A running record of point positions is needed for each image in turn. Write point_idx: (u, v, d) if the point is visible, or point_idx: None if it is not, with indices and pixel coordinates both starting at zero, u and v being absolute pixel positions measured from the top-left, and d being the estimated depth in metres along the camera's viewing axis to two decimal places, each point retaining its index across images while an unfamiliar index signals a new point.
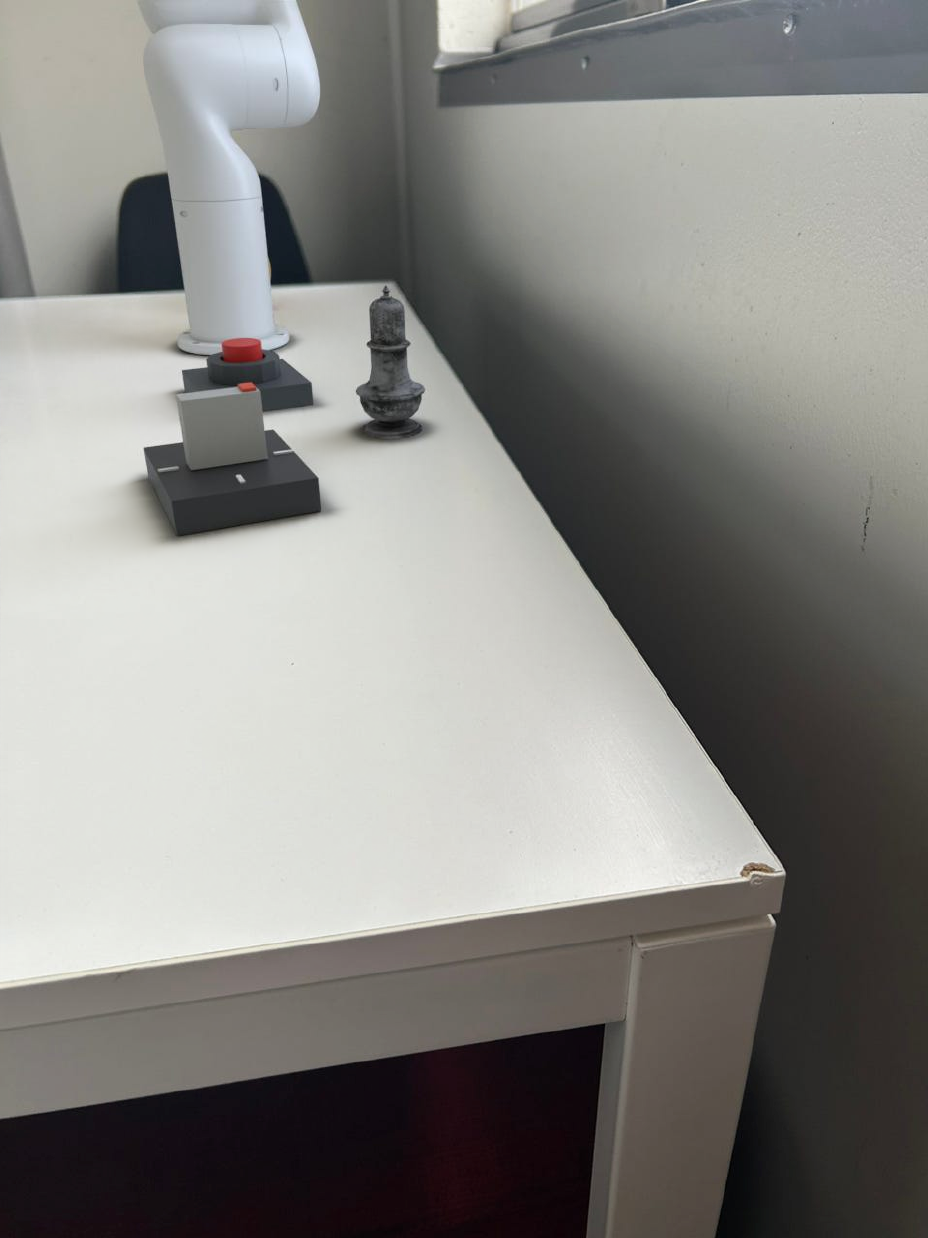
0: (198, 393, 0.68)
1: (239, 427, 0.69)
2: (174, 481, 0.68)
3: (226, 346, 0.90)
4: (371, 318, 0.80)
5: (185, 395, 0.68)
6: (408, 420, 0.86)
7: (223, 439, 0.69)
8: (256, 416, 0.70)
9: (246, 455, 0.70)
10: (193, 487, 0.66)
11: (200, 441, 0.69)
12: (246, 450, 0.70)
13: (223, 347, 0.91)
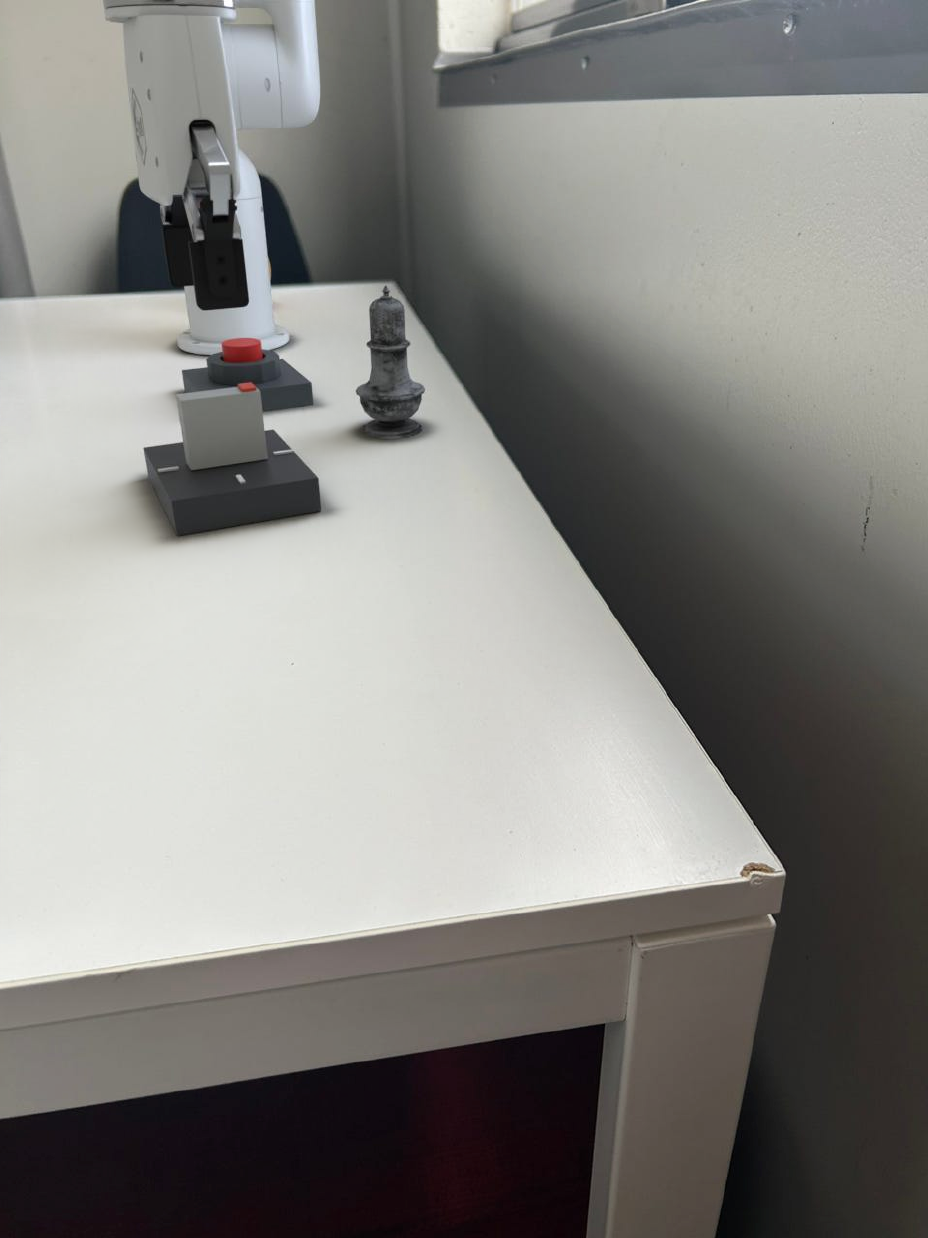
0: (198, 393, 0.68)
1: (239, 427, 0.69)
2: (174, 481, 0.68)
3: (226, 346, 0.90)
4: (371, 318, 0.80)
5: (185, 395, 0.68)
6: (408, 420, 0.86)
7: (223, 439, 0.69)
8: (256, 416, 0.70)
9: (246, 455, 0.70)
10: (193, 487, 0.66)
11: (200, 441, 0.69)
12: (246, 450, 0.70)
13: (223, 347, 0.91)
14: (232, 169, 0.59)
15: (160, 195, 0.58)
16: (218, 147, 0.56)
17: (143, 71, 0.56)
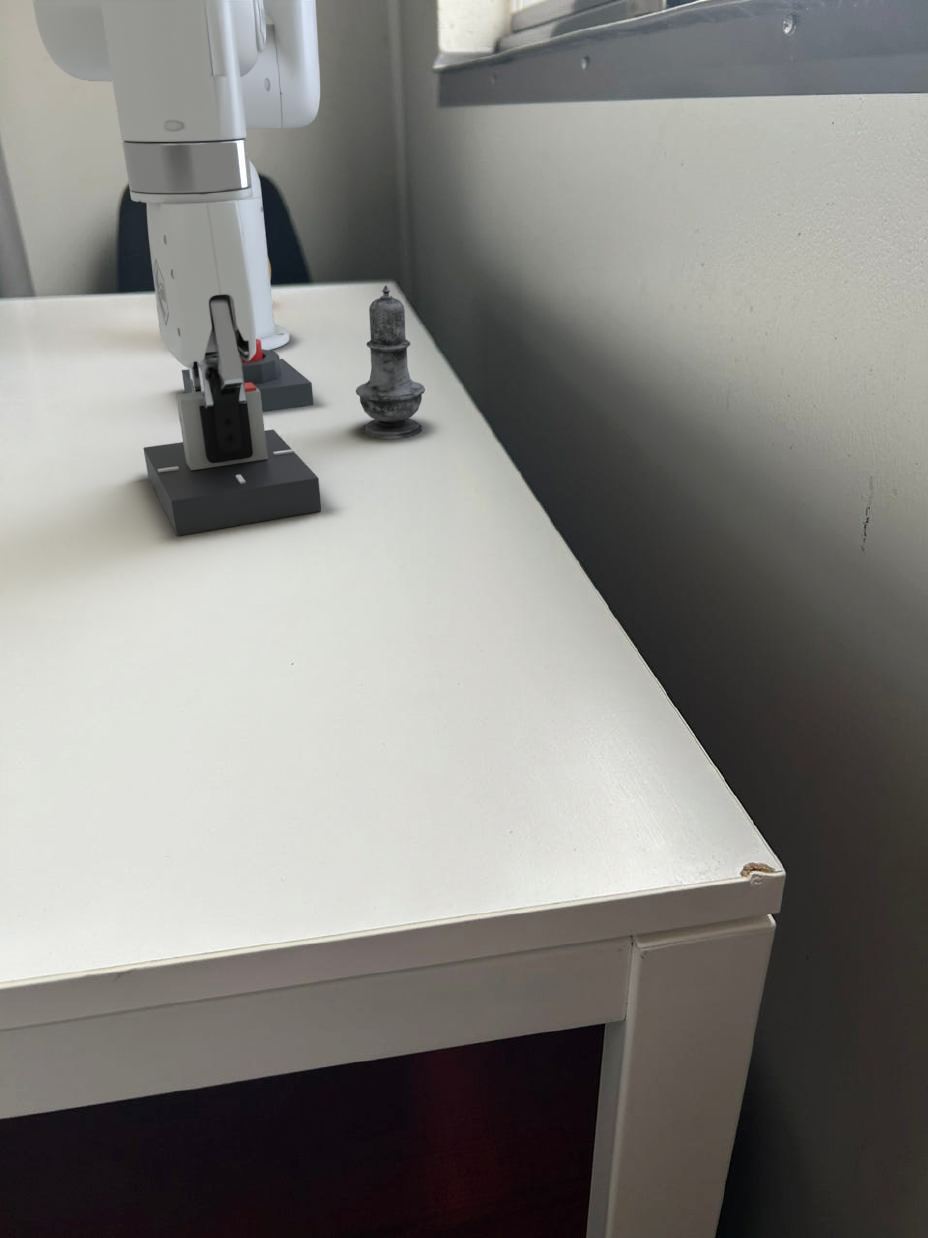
0: (198, 393, 0.68)
1: None
2: (174, 481, 0.68)
3: None
4: (371, 318, 0.80)
5: (185, 395, 0.68)
6: (408, 420, 0.86)
7: None
8: (256, 416, 0.70)
9: None
10: (193, 487, 0.66)
11: (200, 441, 0.69)
12: None
13: None
14: (249, 336, 0.63)
15: (182, 360, 0.63)
16: (234, 351, 0.62)
17: (167, 252, 0.60)
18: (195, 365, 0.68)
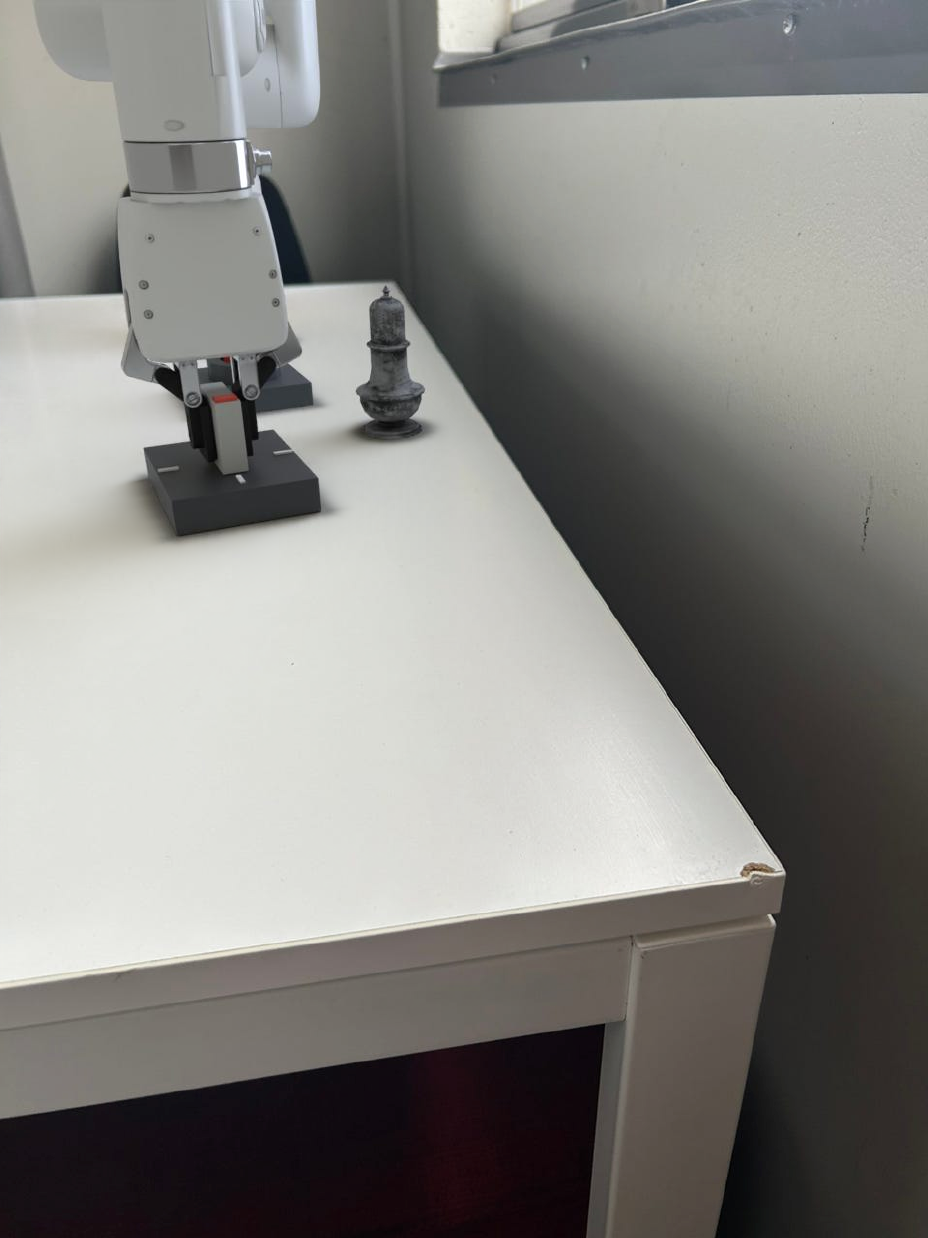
0: (219, 387, 0.70)
1: None
2: (174, 481, 0.68)
3: None
4: (371, 318, 0.80)
5: (213, 384, 0.70)
6: (408, 420, 0.86)
7: None
8: (216, 428, 0.67)
9: (217, 461, 0.69)
10: (193, 487, 0.66)
11: None
12: None
13: None
14: (136, 335, 0.63)
15: None
16: (128, 344, 0.64)
17: None
18: (231, 362, 0.69)
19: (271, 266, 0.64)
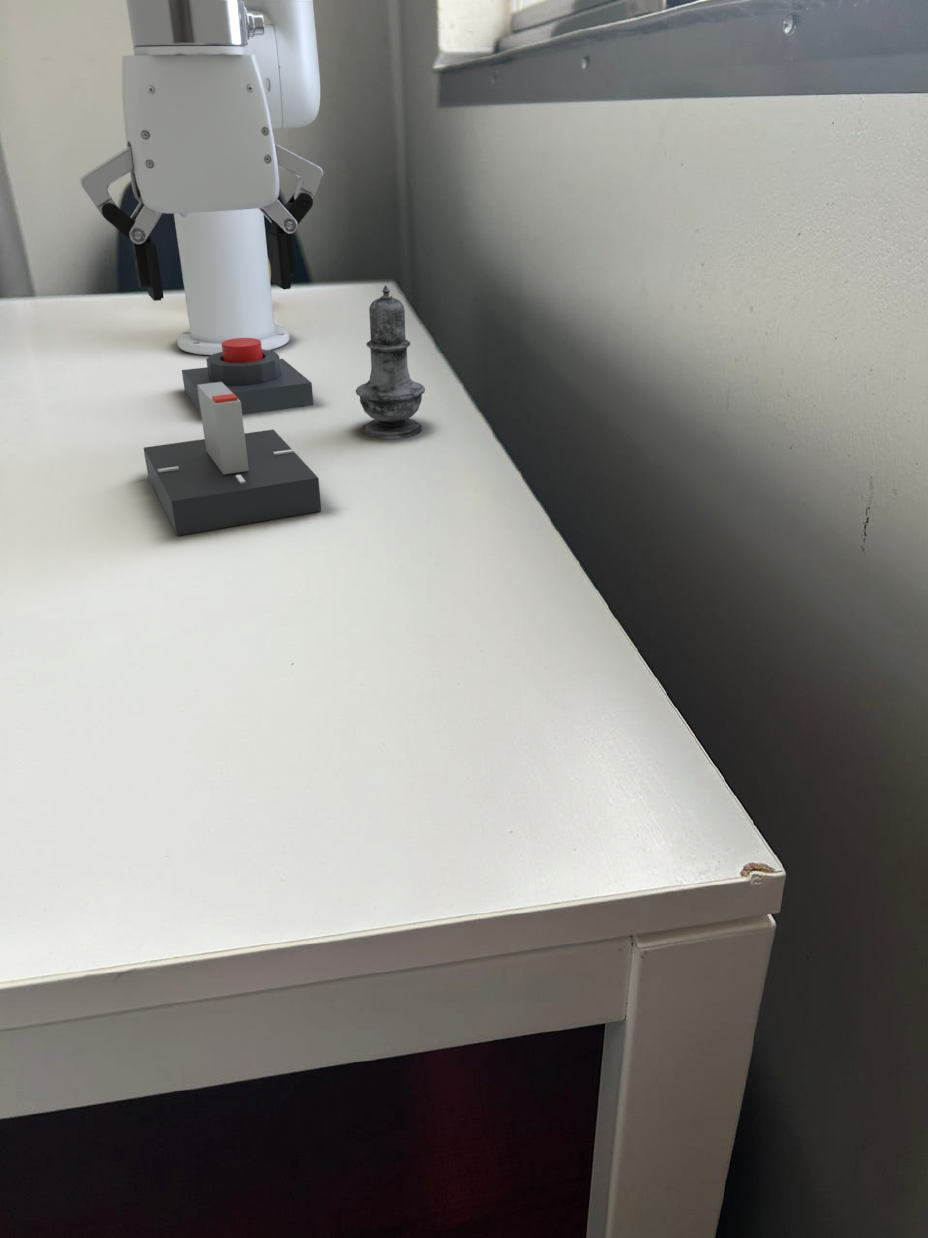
0: (219, 387, 0.70)
1: (213, 431, 0.69)
2: (174, 481, 0.68)
3: (226, 346, 0.90)
4: (371, 318, 0.80)
5: (213, 384, 0.70)
6: (408, 420, 0.86)
7: (210, 436, 0.70)
8: (216, 428, 0.67)
9: (217, 461, 0.69)
10: (193, 487, 0.66)
11: (205, 428, 0.71)
12: (217, 457, 0.69)
13: (223, 347, 0.91)
14: (138, 185, 0.69)
15: None
16: (102, 165, 0.68)
17: None
18: (261, 211, 0.75)
19: (263, 123, 0.70)
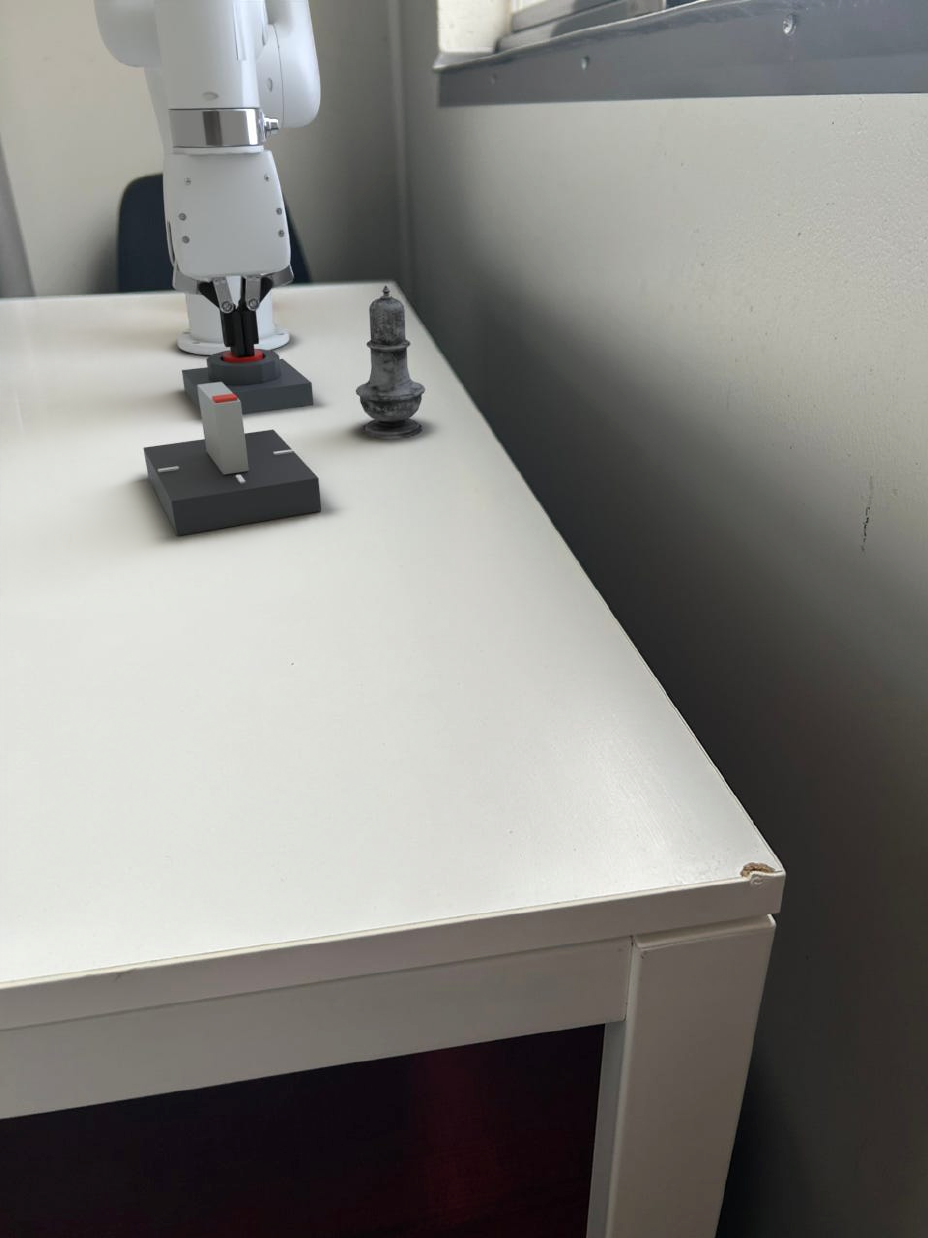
0: (219, 387, 0.70)
1: (213, 431, 0.69)
2: (174, 481, 0.68)
3: (227, 357, 0.91)
4: (371, 318, 0.80)
5: (213, 384, 0.70)
6: (408, 420, 0.86)
7: (210, 436, 0.70)
8: (216, 428, 0.67)
9: (217, 461, 0.69)
10: (193, 487, 0.66)
11: (205, 428, 0.71)
12: (217, 457, 0.69)
13: (224, 358, 0.91)
14: (176, 256, 0.84)
15: None
16: (176, 266, 0.86)
17: None
18: (240, 281, 0.90)
19: (277, 205, 0.85)
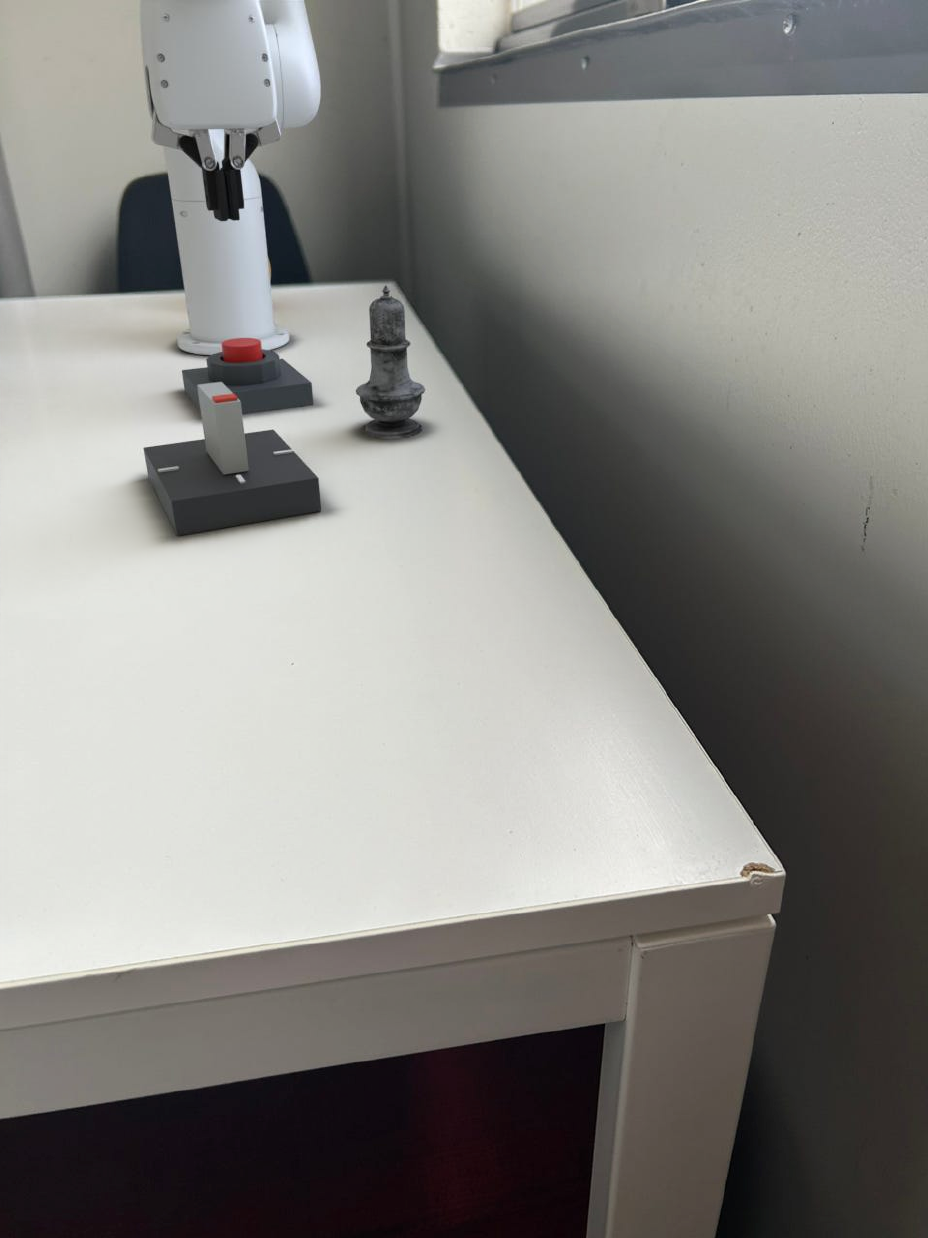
0: (219, 387, 0.70)
1: (213, 431, 0.69)
2: (174, 481, 0.68)
3: (226, 346, 0.90)
4: (371, 318, 0.80)
5: (213, 384, 0.70)
6: (408, 420, 0.86)
7: (210, 436, 0.70)
8: (216, 428, 0.67)
9: (217, 461, 0.69)
10: (193, 487, 0.66)
11: (205, 428, 0.71)
12: (217, 457, 0.69)
13: (223, 347, 0.91)
14: (154, 103, 0.79)
15: None
16: (154, 116, 0.80)
17: None
18: (224, 139, 0.84)
19: (263, 50, 0.80)
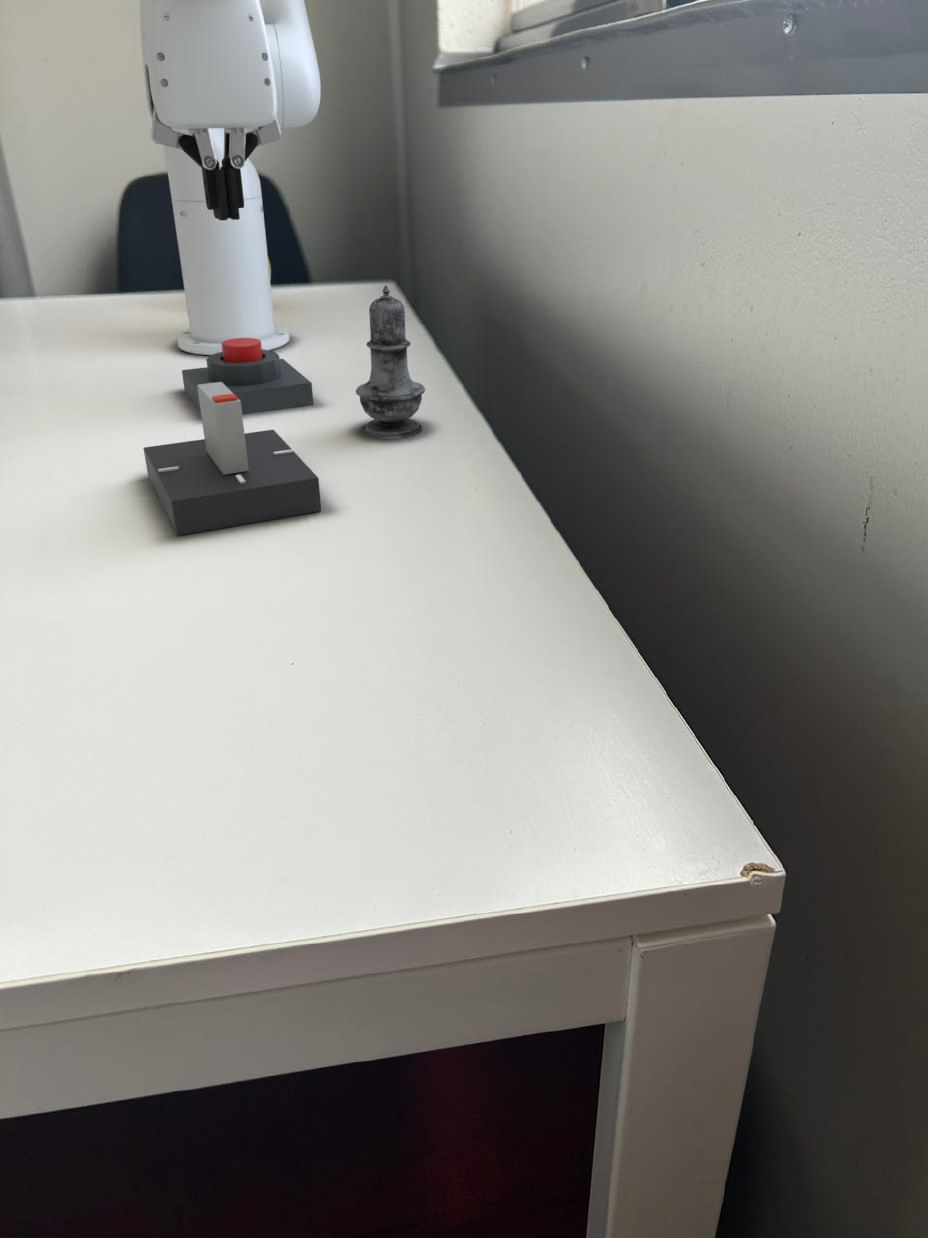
0: (219, 387, 0.70)
1: (213, 431, 0.69)
2: (174, 481, 0.68)
3: (226, 346, 0.90)
4: (371, 318, 0.80)
5: (213, 384, 0.70)
6: (408, 420, 0.86)
7: (210, 436, 0.70)
8: (216, 428, 0.67)
9: (217, 461, 0.69)
10: (193, 487, 0.66)
11: (205, 428, 0.71)
12: (217, 457, 0.69)
13: (223, 347, 0.91)
14: (154, 102, 0.79)
15: None
16: (154, 115, 0.80)
17: None
18: (224, 138, 0.84)
19: (263, 49, 0.80)
